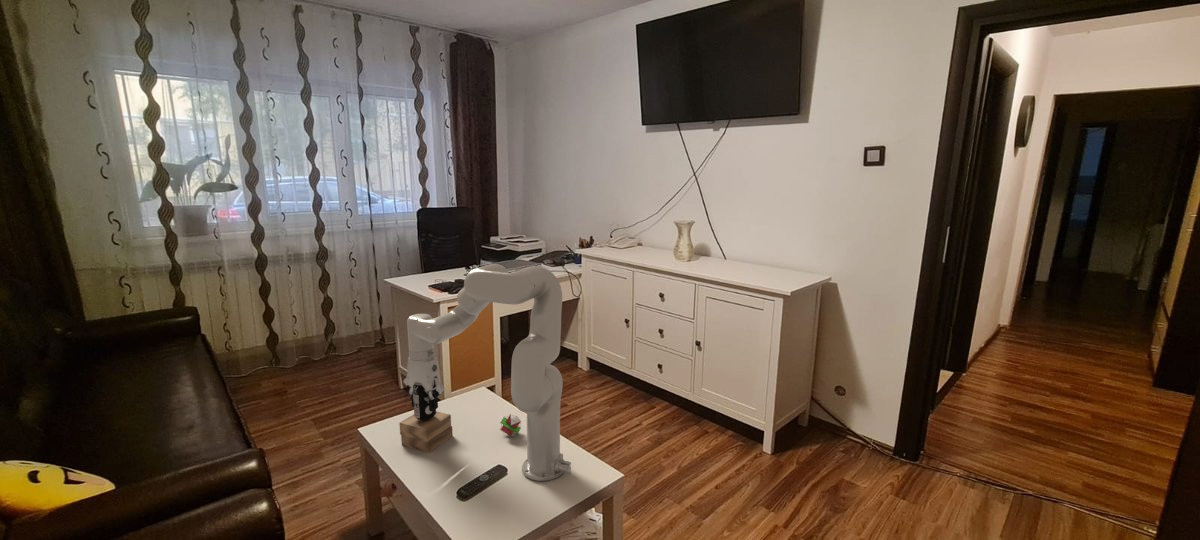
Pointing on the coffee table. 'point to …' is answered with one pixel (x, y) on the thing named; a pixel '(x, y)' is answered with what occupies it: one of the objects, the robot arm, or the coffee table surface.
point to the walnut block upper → (425, 426)
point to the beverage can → (422, 403)
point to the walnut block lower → (428, 445)
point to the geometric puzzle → (510, 425)
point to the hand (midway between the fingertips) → (424, 406)
